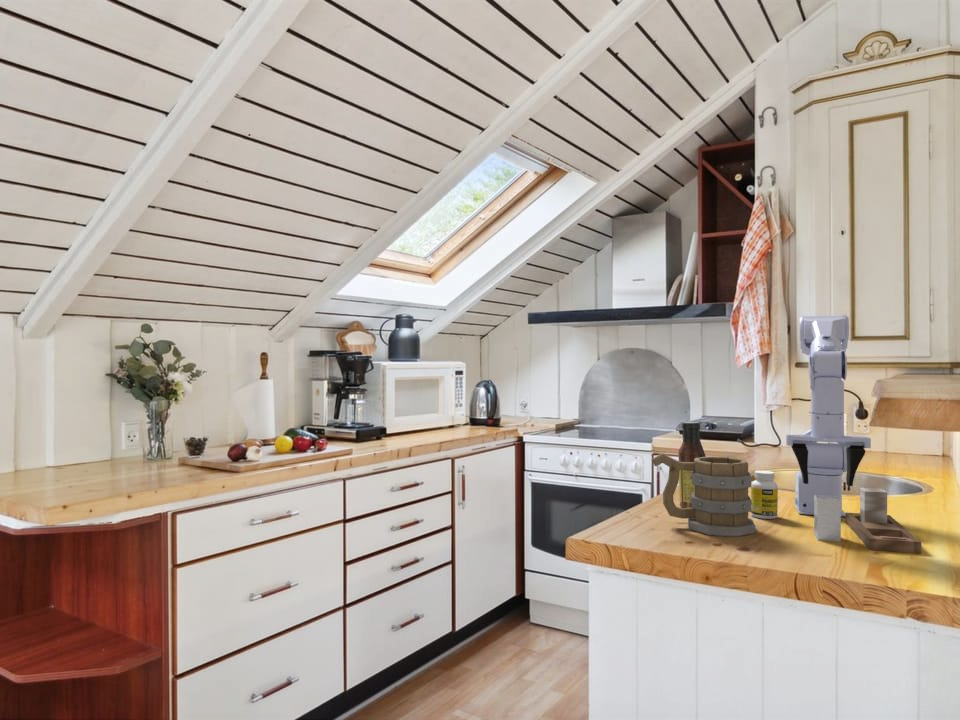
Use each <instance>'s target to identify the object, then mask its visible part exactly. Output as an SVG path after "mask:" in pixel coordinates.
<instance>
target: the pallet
mask: <svg viewBox="0 0 960 720" xmlns="http://www.w3.org/2000/svg"><path fill="white" fill-rule="evenodd" d="M859 494H860V495H859V499H860V500H859V501H860V503H859V504H860V505H859V507H860V508H859V510H860V511H859V513H858V512H857V513H855V512H845V513H846V517H845V523H846V524H847V525H848V527H849V528H850V529H851V530H852V531H853V533H854V534H855V535H856V536H857V537H858V539H860V541H861V540H862V541H861V542H862V543H863V544H864V545H865V546H866V548H868V550H869V551H870V550H871V551H885V552H898V553H901V552H902V553H910V554H911V553H912V554H922V541H920V540H919V539H918V538H917V537H916V536H915V535H914V534H912V533H911V532H910V531H909V530H908V529H906V528H905V527H904V526H903V525H902V524H900V522H898V521H897V520H896V519H895V518H894V517H892V516H891V515H890V514H888V492H887V491H886V490H885V489H884V488H875V487H873V488H872V487H871V488H870V487H860V488H859Z"/></svg>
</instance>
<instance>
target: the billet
mask: <svg viewBox="0 0 960 720" xmlns="http://www.w3.org/2000/svg"><path fill="white" fill-rule="evenodd" d="M813 516H814V519H813V523H814V524H813V525H814V527H813V531H814V533H813V535H814V537H815V538H816V540H817V541H822V542H823V541H824V542H837V543H838V542H839V543H840V542H842V538H841V537H842V536H841V535H842V533H841V532H842V531H841V529H842V525H841V524H842V523H841V522H842V519H841V518H842V516H841V499H840V498H839V497H838V496H837V495H818V494H814V515H813Z"/></svg>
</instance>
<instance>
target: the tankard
mask: <svg viewBox="0 0 960 720" xmlns="http://www.w3.org/2000/svg"><path fill="white" fill-rule="evenodd" d="M651 462H652V464H653V465H654V467H657V466H660V465H661V464H664V465H666V466H667V467H669V469H668V479H667V482H666V483H665V487H664V490H663V492H662V504H663V506H664V508H665V510H666V511H667V513H668V515H669V516H670V517H674V518H678V519H681V520H682V519H687V526H688V529H689V531H693V532H697V533H701V534H704V535H707V536H717V537H732V538H733V537H734V538H736V537H742V536H748V535H753V534H755V533H756V525H755V523H754V520H753V519H752V518H750V517H749V513H751V504H752V502H751V496H749V488H751V483H752V482H753V478H752V475H751V473H750V471H749V463H748V461H747V460H746V459H745V458H744V459H743V458H737V457H736V458H735V457H732V456H731V457H729V456H728V457H727V456H706V457H699V458H695V459H694V462H680V461H679V459H675V458H672V457H671V456H668V455H667V454H665V453H664V452H662V453H661V454H658V455H657V456H655V457H653V458H651ZM680 470H687V471H692V475H691V476H690V478H691V479H692V484H693V485H694V492H693V493H692V498H691V499H690V501H691V502H692V507H691V508H681V507H680V506H679V507H678V506H676V504H675V502H674V495H675V492H676V490H677V487H678V486H679V472H680Z"/></svg>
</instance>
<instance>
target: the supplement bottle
mask: <svg viewBox="0 0 960 720" xmlns="http://www.w3.org/2000/svg"><path fill="white" fill-rule="evenodd" d="M754 478H755V480H752V481H751V487H750V499H751V502H752V504H751V512H750V514H751V517H754V518H756V519H762V520H772V519H774V520H775V519H776V518H777V517H778V508H779V507H778V505H779V504H778V497H779V496H778V495H779V487H778V484H777V482H775V481H774V480H775V472H774V471H771V470H755V471H754Z"/></svg>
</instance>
